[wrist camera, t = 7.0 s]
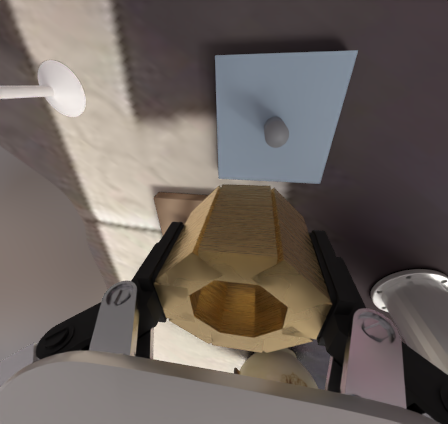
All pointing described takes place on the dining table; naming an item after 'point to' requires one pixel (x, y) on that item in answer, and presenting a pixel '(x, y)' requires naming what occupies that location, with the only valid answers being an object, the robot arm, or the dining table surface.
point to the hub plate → (279, 113)
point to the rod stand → (175, 207)
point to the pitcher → (277, 368)
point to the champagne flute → (53, 89)
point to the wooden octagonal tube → (245, 273)
